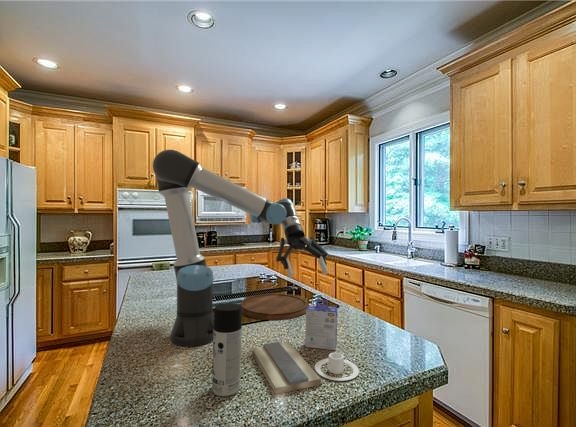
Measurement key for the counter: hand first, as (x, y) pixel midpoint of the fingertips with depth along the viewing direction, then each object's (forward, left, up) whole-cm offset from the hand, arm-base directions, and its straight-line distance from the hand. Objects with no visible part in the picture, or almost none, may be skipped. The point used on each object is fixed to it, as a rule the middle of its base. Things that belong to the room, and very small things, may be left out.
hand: (309, 274), depth 108 cm
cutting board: (-2, +31, -22) cm, 38 cm away
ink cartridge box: (0, -11, -21) cm, 24 cm away
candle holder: (-3, -26, -22) cm, 34 cm away
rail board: (-17, -20, -21) cm, 33 cm away
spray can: (-33, -25, -21) cm, 47 cm away
